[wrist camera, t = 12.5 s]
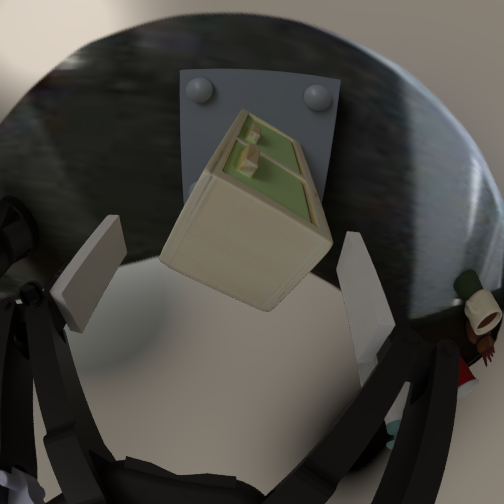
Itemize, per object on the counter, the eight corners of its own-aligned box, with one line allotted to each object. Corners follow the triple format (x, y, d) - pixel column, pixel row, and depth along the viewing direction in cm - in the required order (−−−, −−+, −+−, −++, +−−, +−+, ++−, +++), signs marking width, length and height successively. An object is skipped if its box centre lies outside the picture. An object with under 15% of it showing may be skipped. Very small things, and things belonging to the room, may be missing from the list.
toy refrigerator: (305, 137, 31) (344, 238, 14) (271, 184, 35) (266, 316, 18) (246, 101, 29) (206, 156, 12) (215, 152, 33) (152, 262, 16)
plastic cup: (474, 351, 67) (485, 381, 57) (452, 370, 73) (461, 399, 64) (456, 349, 66) (468, 382, 56) (434, 369, 72) (443, 401, 62)
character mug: (440, 285, 51) (463, 332, 41) (459, 260, 47) (487, 306, 36) (467, 295, 52) (489, 337, 42) (485, 273, 48) (510, 314, 38)
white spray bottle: (406, 338, 62) (432, 438, 40) (389, 356, 67) (407, 450, 45) (372, 333, 61) (393, 444, 39) (355, 353, 66) (369, 455, 44)
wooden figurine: (459, 327, 59) (478, 373, 47) (465, 313, 56) (486, 360, 44) (478, 321, 58) (498, 364, 46) (484, 307, 55) (506, 352, 43)
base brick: (194, 187, 43) (182, 209, 37) (193, 69, 32) (177, 70, 26) (313, 197, 42) (320, 220, 37) (330, 78, 31) (342, 80, 26)
